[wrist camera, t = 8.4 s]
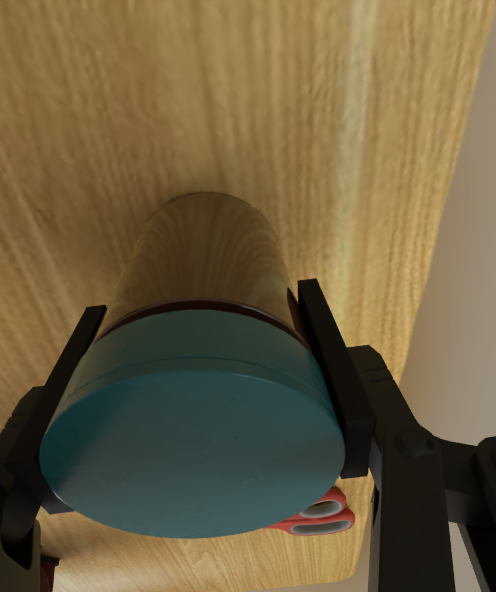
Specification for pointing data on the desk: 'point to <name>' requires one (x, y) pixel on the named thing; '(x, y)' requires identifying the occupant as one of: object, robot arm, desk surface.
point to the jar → (206, 267)
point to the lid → (193, 428)
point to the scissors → (320, 517)
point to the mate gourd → (47, 572)
